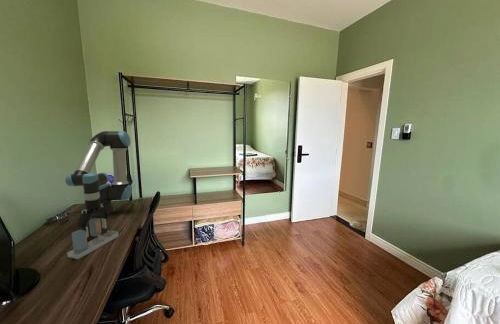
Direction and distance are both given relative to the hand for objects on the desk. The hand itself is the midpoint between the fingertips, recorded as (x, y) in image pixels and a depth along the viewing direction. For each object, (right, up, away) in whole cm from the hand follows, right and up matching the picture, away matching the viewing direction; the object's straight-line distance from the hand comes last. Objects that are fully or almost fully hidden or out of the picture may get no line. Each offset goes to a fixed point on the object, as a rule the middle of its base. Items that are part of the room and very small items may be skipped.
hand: (95, 232), depth 129 cm
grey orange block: (0, -2, 0) cm, 2 cm away
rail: (+9, -4, -12) cm, 16 cm away
